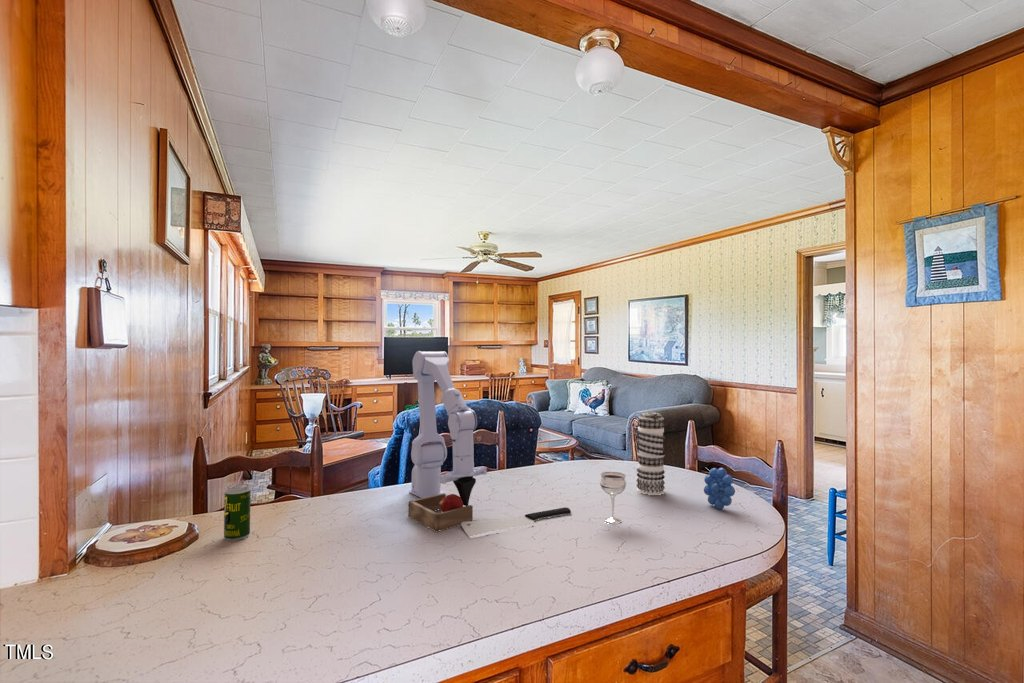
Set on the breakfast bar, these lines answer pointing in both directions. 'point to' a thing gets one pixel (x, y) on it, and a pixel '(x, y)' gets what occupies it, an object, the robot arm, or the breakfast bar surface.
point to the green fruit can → (237, 512)
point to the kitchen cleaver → (510, 521)
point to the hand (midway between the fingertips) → (464, 505)
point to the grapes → (719, 488)
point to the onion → (451, 502)
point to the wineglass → (613, 488)
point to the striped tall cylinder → (650, 454)
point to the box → (425, 513)
